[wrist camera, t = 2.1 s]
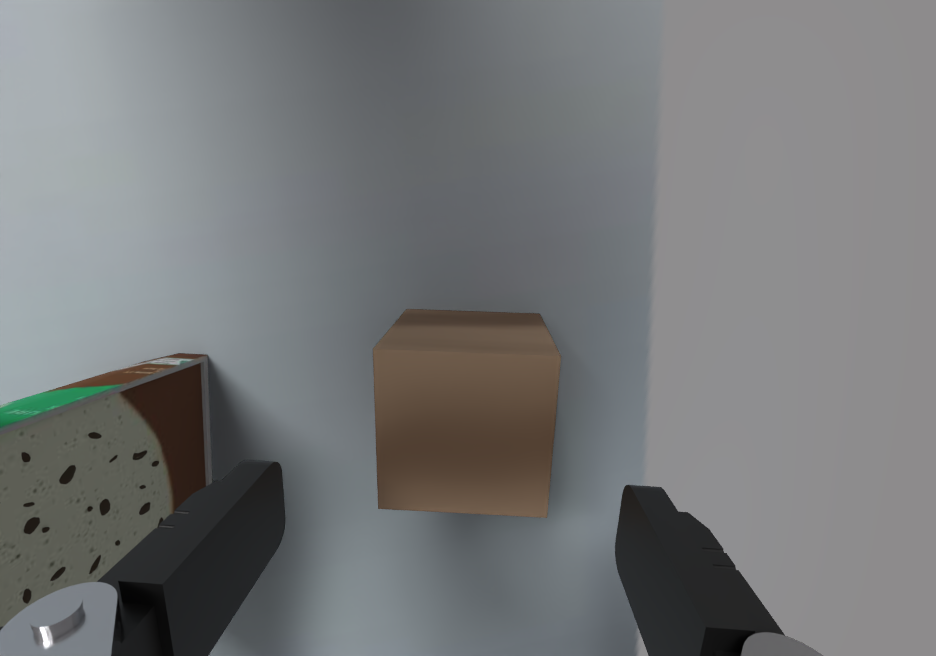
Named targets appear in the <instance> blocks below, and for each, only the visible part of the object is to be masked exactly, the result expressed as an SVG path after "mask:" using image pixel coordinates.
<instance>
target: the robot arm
mask: <svg viewBox="0 0 936 656" xmlns="http://www.w3.org/2000/svg"><path fill="white" fill-rule="evenodd" d="M284 528H285V507H284V493H283V479H282V469H281V466H280V464H279V463H278V462H271V461H255V460H244V461H242V462H241V463H239V464H238V465H237V466H236V467H235V468H234V469H233V470H232V471H231V472H230V473H229V474H228V475H227V476H226V477H225V478H224V479H223V480H222V481H215V482H213V483H211V484H209V485H208V486H206V487H204V488H202V489H200V490H199V491H197V492H195V493H193V494H192V495H191V496H190V497H188V498H187V499H186V500H185V501H184V502H183V503H182V504H181V505H180V506H179V507H178V508H176V509H175V510H174V514H170V515H169V516H168V517H167V518H166V519H165V520H163V521H162V522H161V523H160V524H159V527H158V528H155V529H154V530H153V531H151V532H150V533H149V534H148V535H147V536H146V537H145V538H144V539H143V540H142V541H141V542H139V543H138V544H137V545H136V546H135V547H134V548H133V549H132V550H131V551H130V552H129V553H127V554H126V555H125V556H124V557H123V558H122V559H121V560H120V561H119V562H118V563H117V564H115V565H114V566H113V567H112V568H111V569H110V570H109V571H108V572H107V573H106V574H105V575H103V576H102V577H101V578H100V579H99V580H98V581H97V582H87V583H81V584H76V585H73V586H69V587H66V588H63V589H61V590H58V591H55V592H53V593H51V594H49V595H47V596H45V597H43V598H41V599H39V600H37V601H36V602H34V603H32V604H31V605H29V606H28V607H26V608H25V609H23V610H22V611H21V612H19V613H18V614H17V615H15V616H14V617H13V618H12V619H11V620H10V621H9V622H8V623H7V624H6V625H5V626H3V627H0V656H208V655H209V653H210V652H211V650H212V649H213V647H214V646H215V644H216V643H217V641H218V640H219V638H220V636H221V635H222V633H223V632H224V630H225V629H226V627H227V626H228V624H229V623H230V621H231V620H232V618H233V616H234V615H235V613H236V612H237V610H238V609H239V607H240V606H241V604H242V603H243V601H244V599H245V598H246V596H247V595H248V593H249V592H250V590H251V589H252V587H253V586H254V584H255V583H256V581H257V579H258V578H259V576H260V575H261V573H262V572H263V570H264V569H265V567H266V566H267V564H268V562H269V561H270V559H271V558H272V556H273V555H274V553H275V552H276V550H277V548H278V547H279V545H280V542H281V540H282V537H283V533H284ZM615 556H616V564H617V569H618V573H619V576H620V579H621V581H622V584H623V587H624V590H625V592H626V595H627V598H628V600H629V603H630V606H631V609H632V611H633V614H634V617H635V620H636V622H637V625H638V628H639V630H640V633H641V636H642V638H643V641H644V644H645V647H646V649H647V652H648V655H649V656H823V655H821V654H820V653H818V652H817V651H816V650H814V649H813V648H811V647H809V646H807V645H805V644H804V643H802V642H799V641H797V640H795V639H793V638H790V637H787V636H785V635H784V633H783V632H782V630H781V629H780V628H779V626H778V625H777V624H776V622H775V621H774V619H773V618H772V616H771V615H770V614H769V612H768V611H767V609H766V608H765V607H764V605H763V604H762V602H761V601H760V600H759V598H758V597H757V596H756V594H755V593H754V591H753V590H752V588H751V587H750V586H749V584H748V583H747V582H746V580H745V579H744V577H743V576H742V575H741V573H740V572H739V571H738V570H736V568H735V565H734V563H733V562H732V561H731V559H730V558H729V556H728V555H727V553H724V551H723V548H722V546H721V545H720V544H719V542H718V541H717V539H716V538H715V537H714V535H713V534H712V533H711V531H710V530H709V529H708V528H707V527H705V526H704V525H703V524H702V523H701V522H699V521H698V520H697V519H696V518H694V517H693V516H692V515H691V514H689V513H688V512H678V511H677V509H676V508H675V506H674V505H673V503H672V502H671V500H670V498H669V497H668V495H667V494H666V492H665V491H664V490H663V489H662V488H661V487H650V486H635V485H626V486H625V488H624V490H623V494H622V501H621V508H620V515H619V522H618V528H617V535H616V543H615Z"/></svg>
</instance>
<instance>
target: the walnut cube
mask: <svg viewBox="0 0 936 656" xmlns="http://www.w3.org/2000/svg"><path fill="white" fill-rule="evenodd" d="M560 362H561V355H560V353H559V351H558V349H557V347H556V345H555V343H554V341H553V339H552V337H551V335H550V333H549V331H548V329H547V327H546V325H545V323H544V321H543V319H542V317H541V315H540V314H534V313H506V312H478V311H451V310H423V309H406V310H405V311H404V313H403V314H402V315H401V316H400V317H399V319H398V320H397V321H396V322H395V323H394V324H393V326H392V327H391V328H390V329H389V330H388V332H387V333H386V334H385V335H384V336H383V338H382V339H381V340H380V341H379V342H378V343H377V345H376V346H375V347H374V348H373V366H374V396H375V426H376V456H377V486H378V509H393V510H412V511H431V512H450V513H469V514H487V515H506V516H525V517H544V518H547V512H548V500H549V489H550V477H551V466H552V454H553V443H554V431H555V420H556V408H557V397H558V385H559V374H560Z"/></svg>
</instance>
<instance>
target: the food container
mask: <svg viewBox="0 0 936 656" xmlns="http://www.w3.org/2000/svg"><path fill="white" fill-rule="evenodd" d="M211 483H212V459H211V433H210V407H209V382H208V356H207V355H203V354H183V353H178V354H174V355H170V356H166V357H161V358H157V359H153V360H149V361H144V362H141V363H138V364H135V365H131V366H128V367H125V368H122V369H118V370H115V371H112V372H108V373H105V374H102V375H99V376H95V377H92V378H89V379H85V380H82V381H79V382H76V383H72V384H69V385H66V386H63V387H59V388H56V389H53V390H49V391H46V392H43V393H40V394H36V395H33V396H30V397H26V398H23V399H20V400H17V401H13V402H10V403H7V404H4V405H0V627H3V626H5V625H6V624H7V623H8V622H9V621H10V620H11V619H12V618H13V617H14V616H15V615H17V614H18V613H19V612H21V611H22V610H23V609H25V608H26V607H28V606H29V605H31V604H32V603H34V602H36V601H37V600H39V599H41V598H43V597H45V596H47V595H49V594H51V593H53V592H55V591H58V590H61V589H63V588H66V587H69V586H73V585H76V584H81V583H87V582H97V581H98V580H99V579H100V578H101V577H102V576H103V575H105V574H106V573H107V572H108V571H109V570H110V569H111V568H112V567H113V566H114V565H115V564H117V563H118V562H119V561H120V560H121V559H122V558H123V557H124V556H125V555H126V554H127V553H129V552H130V551H131V550H132V549H133V548H134V547H135V546H136V545H137V544H138V543H139V542H141V541H142V540H143V539H144V538H145V537H146V536H147V535H148V534H149V533H150V532H151V531H153V530H154V529H155V528H158V527H159V524H160V523H161V522H162V521H163V520H165V519H166V518H167V517H168V516H169V515H170V514H174V510H175V509H176V508H178V507H179V506H180V505H181V504H182V503H183V502H184V501H185V500H186V499H187V498H188V497H190V496H191V495H192V494H193V493H195V492H197V491H199V490H200V489H202V488H204V487H206V486H208V485H209V484H211Z"/></svg>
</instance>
